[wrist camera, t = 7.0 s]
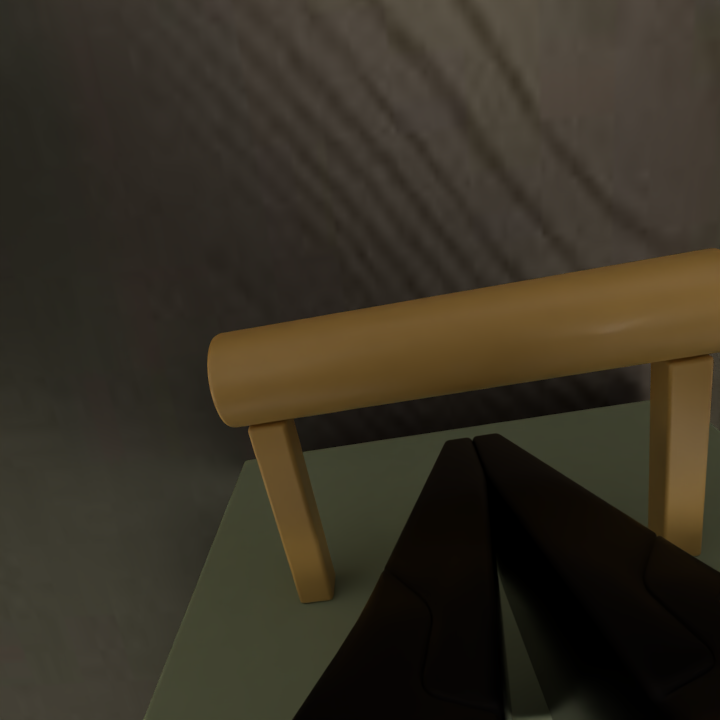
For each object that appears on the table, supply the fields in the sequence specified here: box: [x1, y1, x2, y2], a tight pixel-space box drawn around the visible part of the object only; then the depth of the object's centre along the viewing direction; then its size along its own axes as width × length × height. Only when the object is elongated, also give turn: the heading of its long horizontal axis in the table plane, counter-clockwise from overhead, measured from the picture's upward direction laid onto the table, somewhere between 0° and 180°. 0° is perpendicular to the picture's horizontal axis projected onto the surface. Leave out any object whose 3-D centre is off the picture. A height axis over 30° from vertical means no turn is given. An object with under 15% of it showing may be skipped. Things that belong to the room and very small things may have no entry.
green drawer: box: [143, 248, 720, 720], centre depth 12 cm, size 18×11×7 cm, turn 11°
